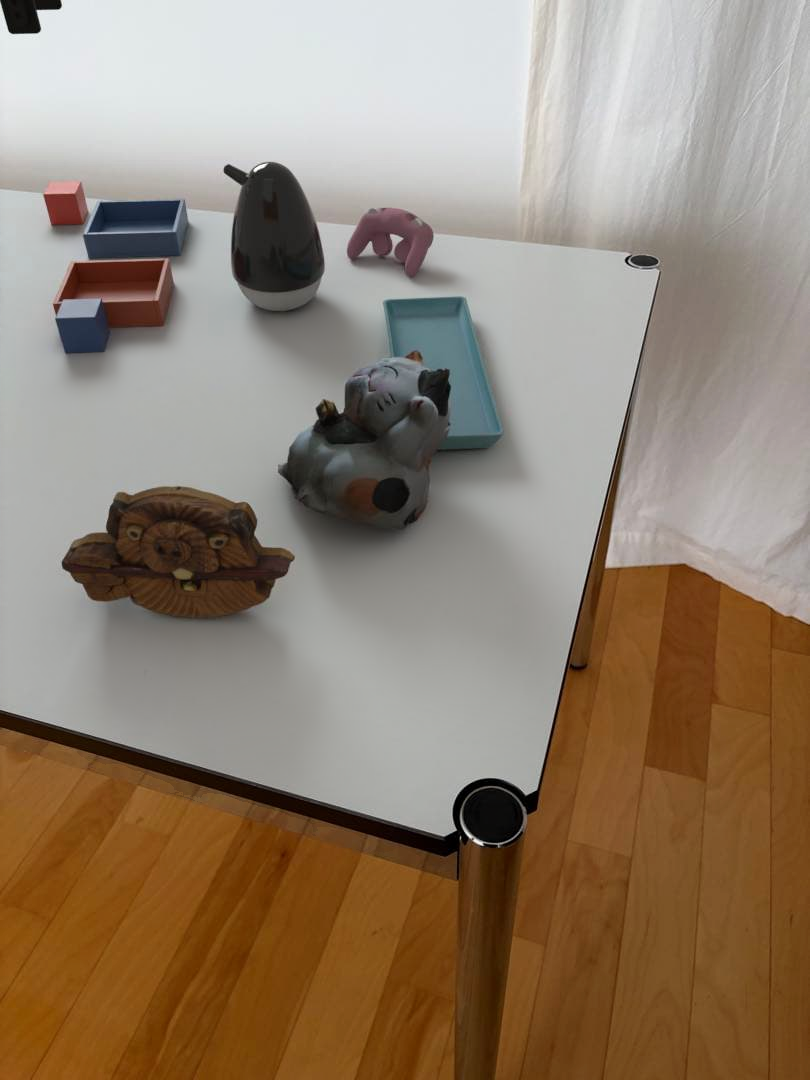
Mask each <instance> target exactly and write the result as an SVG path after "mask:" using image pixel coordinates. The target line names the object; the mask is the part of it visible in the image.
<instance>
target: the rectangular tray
mask: <svg viewBox="0 0 810 1080" xmlns="http://www.w3.org/2000/svg"><path fill="white" fill-rule="evenodd" d="M382 305H383V311H384V318H385V325H386V331H387V339H388V345H389V346H388V347H389V353H390V358H393V357H403V358H404V357H406V356H407V355H409V354H410V353H411V352H413V351H415V350H417V351H419V352H420V353H421V356H422V358H423V365H424V366H425V367H427V368H429V369H430V370H432V371H436V370H437V369H449V370H450V375H449V379H448V381H449V383H450V385H451V391H450V395H449V402H450V405H451V413H450V417H449V422H450V424H451V427H450V430H449V433H448V435H447V437H446V439H445V440H444V441H443V442H442V444H441V445H440V446H439V448H438V449H437V450H436V451H441V450H443V451H444V450H446V451H447V450H464V449H465V450H466V449H469V450H470V449H488V448H490V447H493V445H495V443H497V442H498V441H499V440H500V439H501V438H502V436H503V435H504V434H505V430H504V426H503V424H502V420H501V417H500V414H499V410H498V407H497V403H496V400H495V396H494V393H493V389H492V387H491V383H490V379H489V376H488V372H487V369H486V365H485V361H484V358H483V353H482V351H481V347H480V344H479V339H478V336H477V332H476V330H475V325H474V321H473V318H472V314H471V311H470V308H469V304H468V301H467V298H466V297H465V296H462V295H461V296H460V295H459V296H458V295H457V296H432V297H411V298H410V297H409V298H389V299H385V300H383V301H382Z"/></svg>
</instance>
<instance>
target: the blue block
mask: <svg viewBox="0 0 810 1080" xmlns="http://www.w3.org/2000/svg"><path fill="white" fill-rule="evenodd" d="M54 320H55V324H56V327H57V330H58V334H59V338H60V341H61V344H62V347H63V351H64V354H72V353H103V352H105V349H106V347H107V346H106V345H107V343H108V339H109V336H110V333H111V331H110V327H109V326H108V322H107V318H106V314H105V310H104V306H103V302H102V299H70V300H63V301H62V303H61V306H60V308H59V310H58V313H57V315H56V314H55V318H54Z"/></svg>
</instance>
